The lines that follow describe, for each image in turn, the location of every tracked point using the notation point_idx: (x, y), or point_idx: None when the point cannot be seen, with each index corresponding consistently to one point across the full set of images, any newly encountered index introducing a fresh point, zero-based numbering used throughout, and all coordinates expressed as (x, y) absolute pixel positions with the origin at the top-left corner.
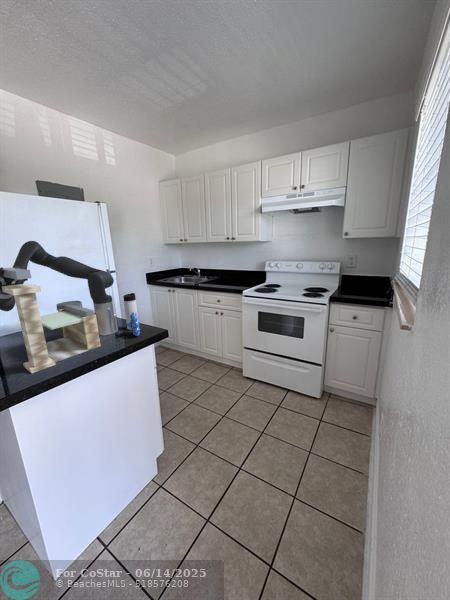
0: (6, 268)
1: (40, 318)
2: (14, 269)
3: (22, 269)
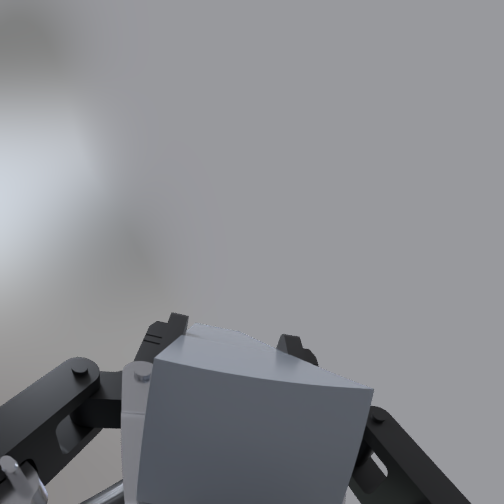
0: (250, 351)
1: None
2: (226, 333)
3: (203, 326)
